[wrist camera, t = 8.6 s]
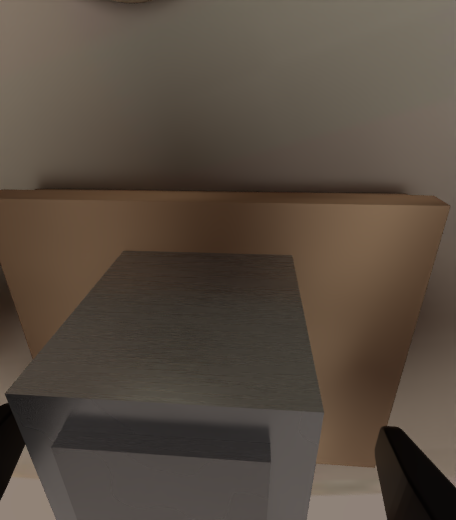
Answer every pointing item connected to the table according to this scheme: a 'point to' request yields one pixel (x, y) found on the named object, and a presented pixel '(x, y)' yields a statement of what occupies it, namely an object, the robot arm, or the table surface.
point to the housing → (177, 393)
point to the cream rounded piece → (132, 1)
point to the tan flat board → (250, 242)
